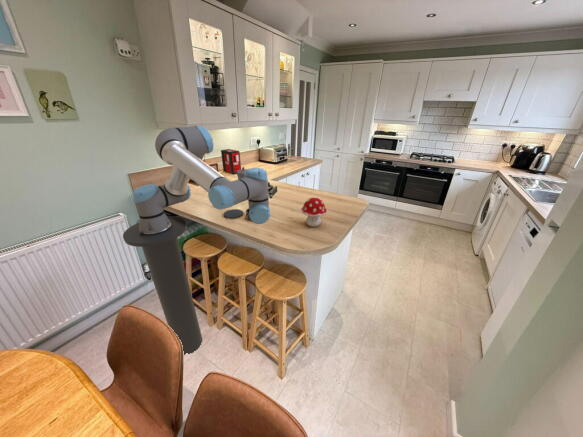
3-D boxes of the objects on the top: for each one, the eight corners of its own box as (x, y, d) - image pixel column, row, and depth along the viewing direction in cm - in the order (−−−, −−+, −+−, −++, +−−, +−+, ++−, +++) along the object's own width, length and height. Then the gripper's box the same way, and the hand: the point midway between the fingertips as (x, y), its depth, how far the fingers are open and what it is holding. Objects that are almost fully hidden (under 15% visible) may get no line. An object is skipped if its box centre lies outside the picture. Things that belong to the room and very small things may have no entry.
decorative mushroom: (331, 223, 126) (333, 197, 120) (316, 233, 117) (317, 205, 110) (311, 216, 135) (312, 191, 128) (295, 224, 125) (295, 198, 119)
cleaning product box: (223, 171, 225) (220, 150, 216) (231, 169, 231) (228, 149, 222) (233, 174, 215) (231, 152, 206) (241, 172, 221) (239, 151, 212)
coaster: (232, 220, 130) (232, 218, 129) (220, 215, 136) (219, 213, 135) (247, 213, 138) (246, 212, 137) (234, 209, 144) (234, 207, 143)
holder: (256, 223, 127) (256, 216, 125) (242, 217, 133) (241, 211, 131) (271, 216, 135) (270, 209, 133) (256, 211, 141) (256, 204, 140)
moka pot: (239, 198, 160) (236, 169, 151) (237, 191, 173) (235, 164, 164) (253, 197, 162) (251, 168, 153) (250, 190, 175) (248, 163, 167)
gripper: (227, 211, 96) (230, 194, 115) (287, 206, 101) (279, 191, 119) (225, 194, 93) (228, 179, 112) (286, 190, 97) (279, 176, 116)
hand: (255, 185), depth 116 cm, fingers open, 13 cm apart
